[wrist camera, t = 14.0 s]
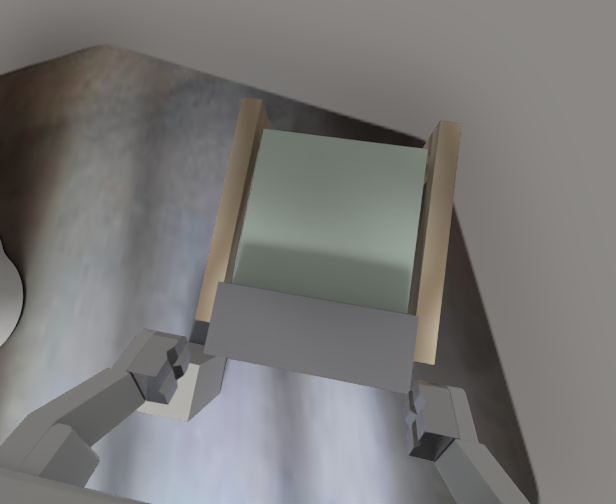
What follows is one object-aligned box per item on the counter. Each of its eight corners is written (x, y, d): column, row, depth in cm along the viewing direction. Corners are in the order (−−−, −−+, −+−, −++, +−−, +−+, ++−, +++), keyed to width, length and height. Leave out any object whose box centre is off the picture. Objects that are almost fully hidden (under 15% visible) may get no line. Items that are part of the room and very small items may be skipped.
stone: (178, 385, 36) (135, 410, 28) (188, 341, 36) (148, 354, 28) (219, 393, 35) (187, 422, 27) (228, 349, 36) (199, 365, 28)
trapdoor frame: (251, 309, 36) (194, 319, 21) (276, 176, 38) (242, 97, 23) (388, 334, 35) (434, 364, 20) (406, 194, 37) (461, 123, 22)
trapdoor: (224, 343, 22) (203, 353, 18) (266, 135, 24) (254, 106, 20) (395, 376, 21) (409, 394, 17) (423, 155, 23) (441, 128, 19)
